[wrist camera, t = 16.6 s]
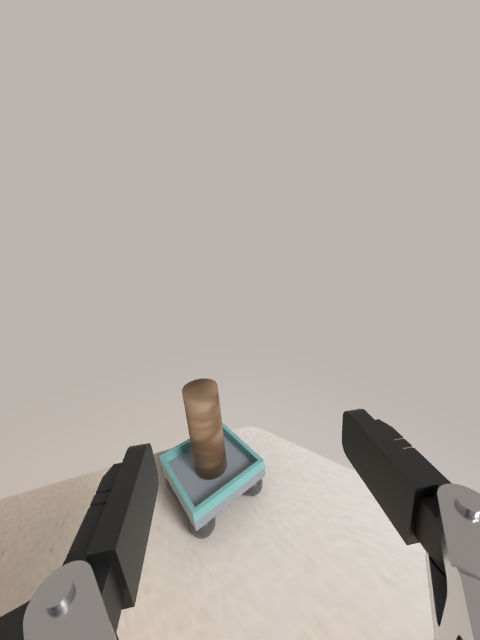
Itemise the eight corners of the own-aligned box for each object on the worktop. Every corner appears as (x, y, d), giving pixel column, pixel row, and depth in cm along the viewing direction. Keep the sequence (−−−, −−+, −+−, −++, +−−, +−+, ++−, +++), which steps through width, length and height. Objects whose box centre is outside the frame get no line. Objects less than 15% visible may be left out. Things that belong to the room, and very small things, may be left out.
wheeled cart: (199, 551, 32) (192, 516, 30) (164, 486, 42) (157, 456, 40) (267, 492, 39) (265, 460, 37) (224, 447, 49) (220, 420, 47)
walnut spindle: (205, 486, 36) (191, 402, 32) (190, 464, 40) (176, 387, 36) (233, 467, 38) (223, 387, 35) (216, 448, 42) (206, 375, 39)
